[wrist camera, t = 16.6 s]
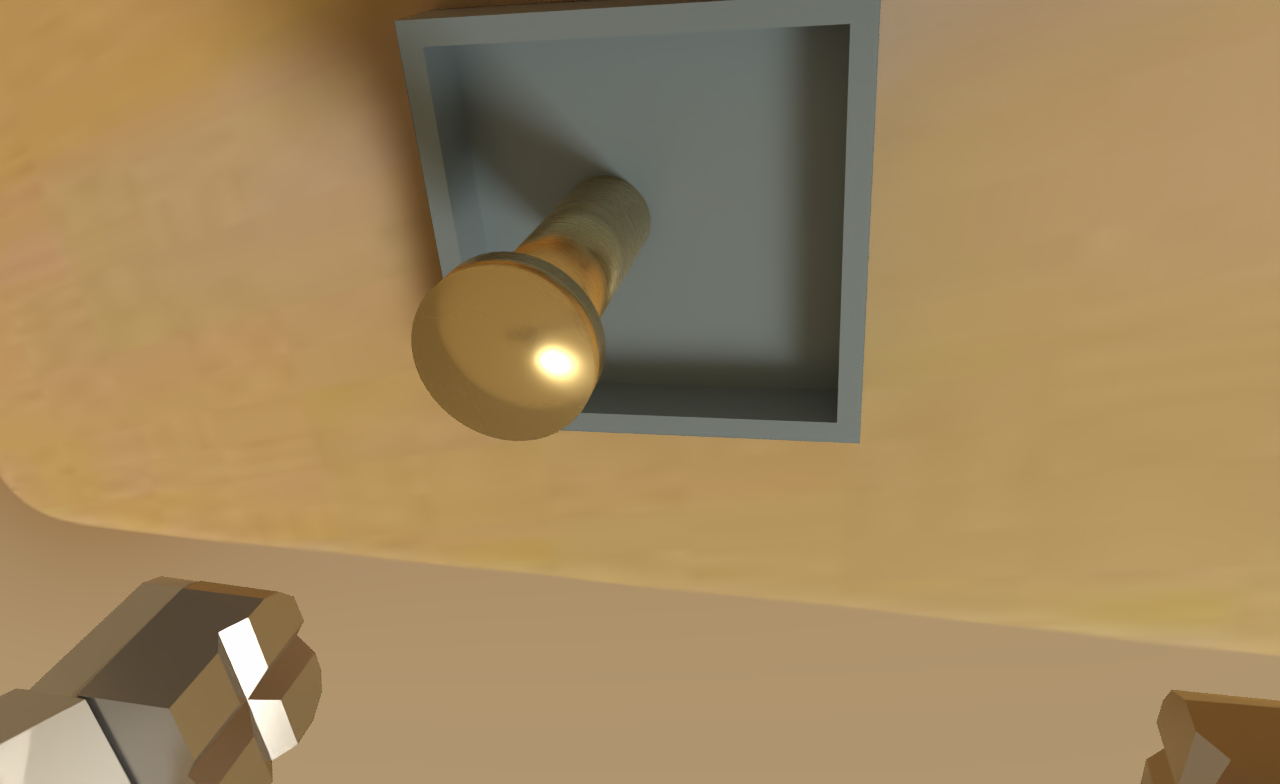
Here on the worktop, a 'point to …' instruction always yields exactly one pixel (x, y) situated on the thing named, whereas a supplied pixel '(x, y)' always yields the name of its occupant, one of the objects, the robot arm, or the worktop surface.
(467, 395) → the pin
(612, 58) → the tray
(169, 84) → the worktop surface
